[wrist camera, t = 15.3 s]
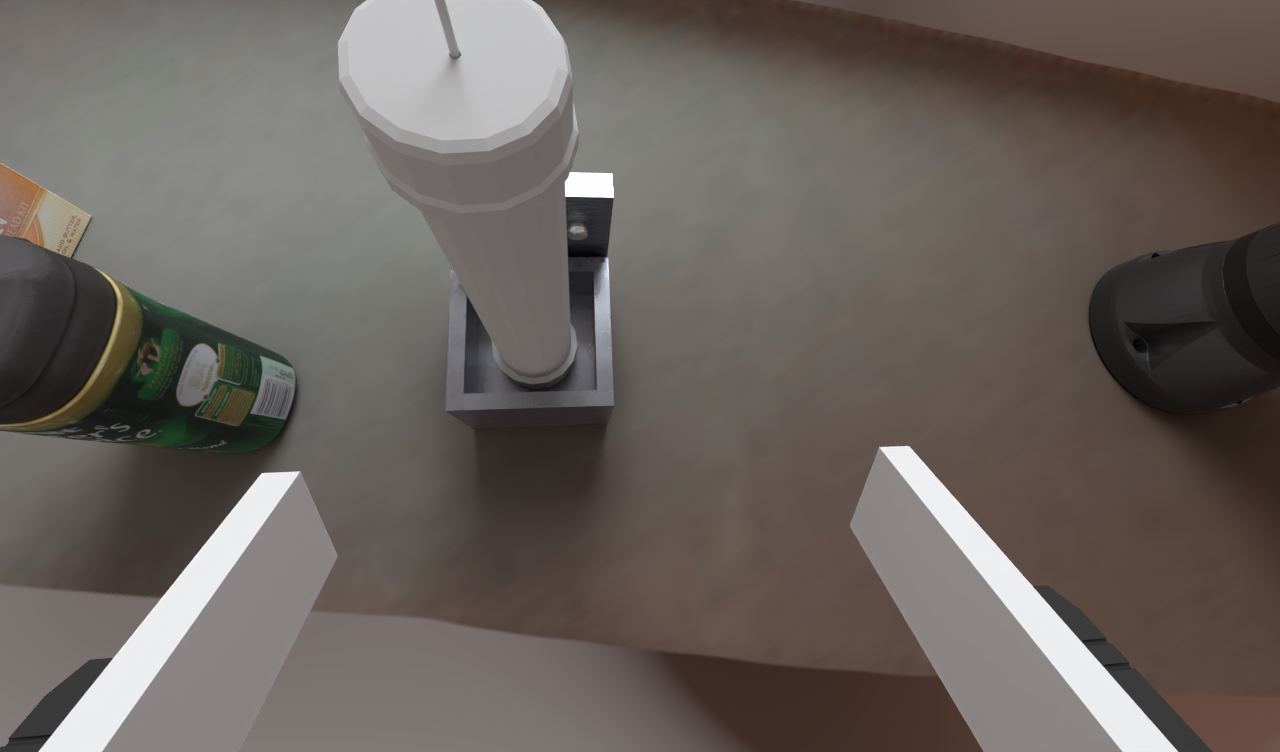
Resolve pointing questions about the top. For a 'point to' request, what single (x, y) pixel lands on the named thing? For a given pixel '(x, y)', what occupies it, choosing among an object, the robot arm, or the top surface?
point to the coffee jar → (126, 363)
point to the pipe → (478, 155)
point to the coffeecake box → (38, 214)
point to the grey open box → (588, 386)
